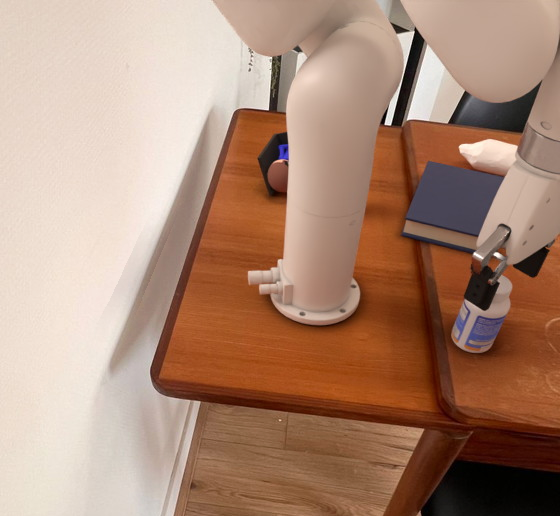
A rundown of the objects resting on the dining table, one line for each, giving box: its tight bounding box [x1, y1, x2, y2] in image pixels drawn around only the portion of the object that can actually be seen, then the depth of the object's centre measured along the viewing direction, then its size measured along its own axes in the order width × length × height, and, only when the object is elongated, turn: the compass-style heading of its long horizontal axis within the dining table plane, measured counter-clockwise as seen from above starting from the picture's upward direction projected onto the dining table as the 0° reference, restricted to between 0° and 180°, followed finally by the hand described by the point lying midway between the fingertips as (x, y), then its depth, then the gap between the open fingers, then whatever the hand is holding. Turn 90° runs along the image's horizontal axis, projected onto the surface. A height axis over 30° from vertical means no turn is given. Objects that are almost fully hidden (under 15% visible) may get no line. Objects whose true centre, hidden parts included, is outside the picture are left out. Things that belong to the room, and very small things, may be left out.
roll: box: [458, 138, 518, 177], centre depth 98 cm, size 6×12×6 cm, turn 67°
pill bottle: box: [451, 274, 513, 354], centre depth 66 cm, size 5×5×10 cm
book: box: [400, 160, 505, 255], centre depth 89 cm, size 20×14×3 cm
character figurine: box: [257, 131, 289, 197], centre depth 92 cm, size 8×7×15 cm
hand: (500, 287), depth 63 cm, fingers open, 9 cm apart
